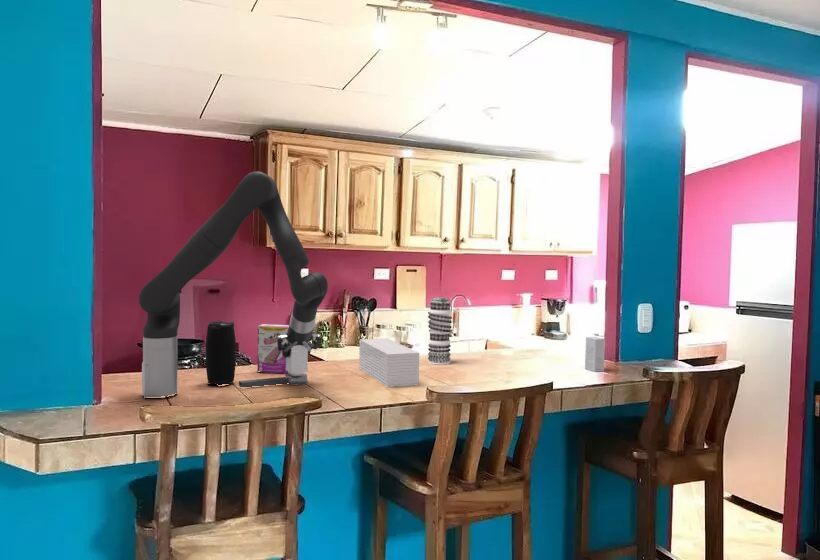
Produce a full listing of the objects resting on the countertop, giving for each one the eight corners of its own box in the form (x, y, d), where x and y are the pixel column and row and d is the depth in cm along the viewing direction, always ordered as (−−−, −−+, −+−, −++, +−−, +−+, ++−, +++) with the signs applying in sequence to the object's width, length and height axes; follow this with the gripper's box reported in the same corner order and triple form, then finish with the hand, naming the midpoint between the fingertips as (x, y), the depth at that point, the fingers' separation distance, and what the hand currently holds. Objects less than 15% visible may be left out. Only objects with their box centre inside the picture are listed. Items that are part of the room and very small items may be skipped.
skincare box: (604, 371, 232) (605, 338, 232) (594, 372, 231) (595, 339, 230) (593, 368, 238) (594, 336, 237) (584, 368, 236) (585, 336, 236)
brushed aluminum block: (291, 373, 200) (291, 338, 199) (285, 370, 205) (286, 336, 204) (307, 371, 202) (307, 337, 202) (301, 368, 207) (302, 335, 207)
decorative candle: (423, 361, 246) (424, 296, 245) (446, 360, 249) (447, 296, 248) (431, 365, 238) (432, 298, 236) (454, 364, 240) (456, 298, 239)
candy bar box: (256, 373, 218) (257, 325, 217) (261, 370, 223) (262, 323, 222) (288, 374, 217) (289, 326, 216) (292, 371, 222) (293, 324, 221)
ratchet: (243, 390, 192) (243, 369, 192) (237, 386, 198) (237, 365, 198) (310, 384, 203) (310, 363, 202) (302, 379, 209) (303, 360, 208)
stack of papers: (359, 368, 230) (359, 339, 229) (387, 367, 234) (387, 338, 233) (387, 388, 200) (387, 354, 199) (418, 385, 204) (419, 352, 203)
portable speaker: (240, 382, 203) (241, 321, 202) (223, 388, 194) (223, 324, 193) (217, 379, 206) (218, 319, 205) (199, 385, 197) (200, 323, 196)
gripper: (323, 313, 198) (316, 345, 210) (277, 313, 193) (271, 346, 205) (327, 332, 193) (319, 363, 205) (279, 333, 188) (274, 365, 200)
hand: (295, 355), depth 205 cm, fingers closed on brushed aluminum block, 6 cm apart
